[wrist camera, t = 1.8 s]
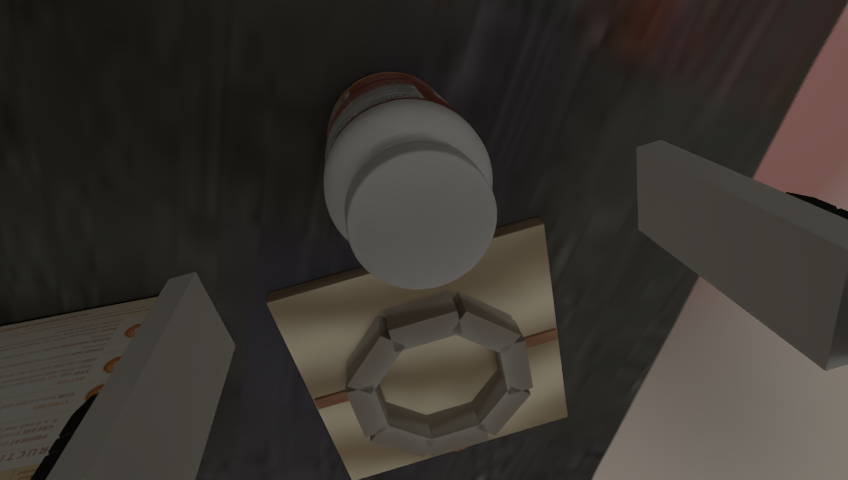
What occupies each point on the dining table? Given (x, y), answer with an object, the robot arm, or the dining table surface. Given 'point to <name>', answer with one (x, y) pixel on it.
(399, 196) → the pill bottle
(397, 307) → the socket
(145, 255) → the dining table surface
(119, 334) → the coffeecake box
